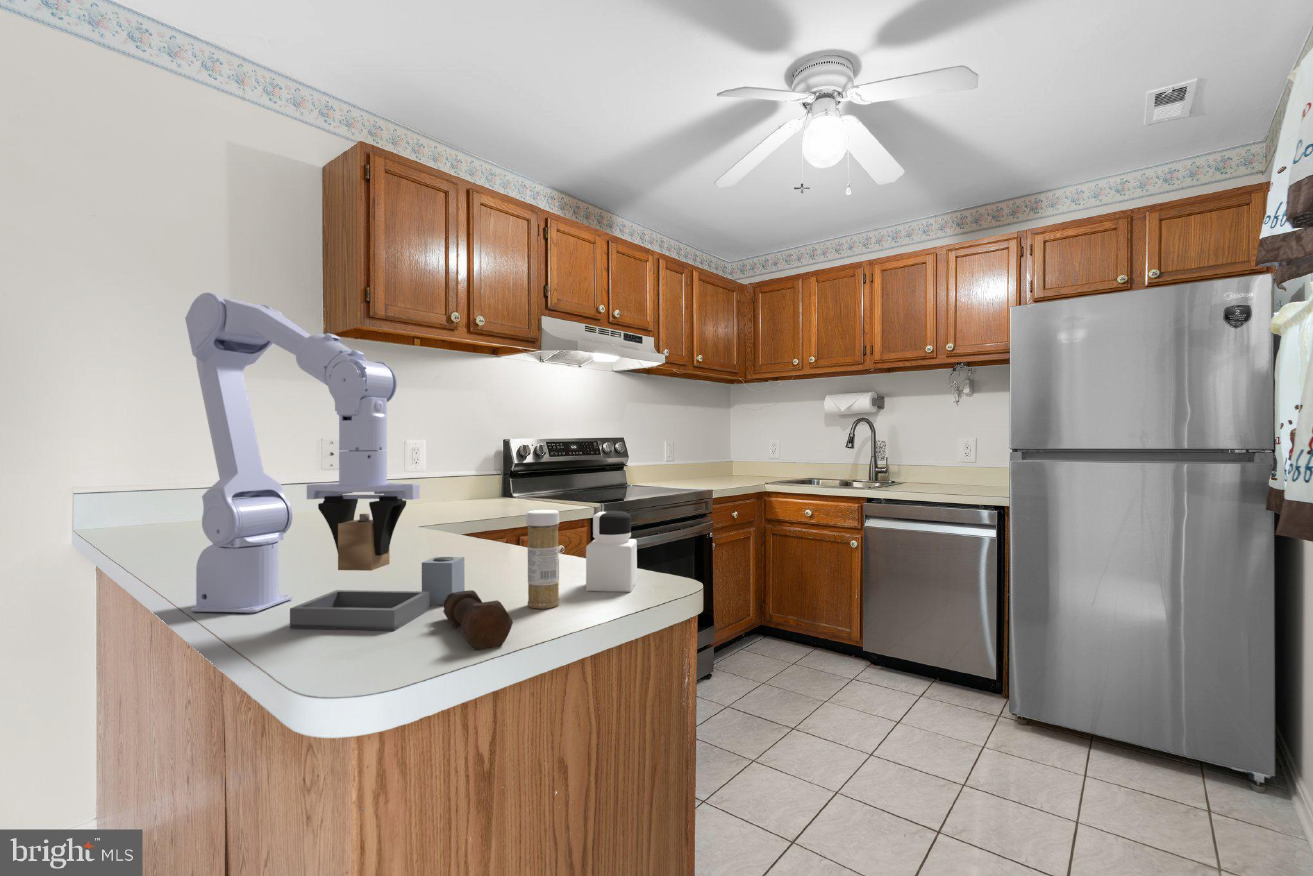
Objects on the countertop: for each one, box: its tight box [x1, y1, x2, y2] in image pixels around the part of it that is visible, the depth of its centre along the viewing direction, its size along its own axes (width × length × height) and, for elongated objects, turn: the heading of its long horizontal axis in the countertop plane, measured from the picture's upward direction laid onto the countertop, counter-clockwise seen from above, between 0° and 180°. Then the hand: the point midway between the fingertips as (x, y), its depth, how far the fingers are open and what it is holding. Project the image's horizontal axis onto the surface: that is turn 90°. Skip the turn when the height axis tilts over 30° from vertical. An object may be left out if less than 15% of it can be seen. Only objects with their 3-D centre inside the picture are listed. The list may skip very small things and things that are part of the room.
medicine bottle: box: [585, 510, 638, 593], centre depth 98 cm, size 7×7×12 cm
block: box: [337, 513, 391, 571], centre depth 81 cm, size 4×4×7 cm
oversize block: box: [421, 556, 466, 605], centre depth 90 cm, size 4×4×6 cm
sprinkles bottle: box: [526, 509, 560, 610], centre depth 87 cm, size 5×5×13 cm
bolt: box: [442, 589, 514, 651], centre depth 75 cm, size 6×5×15 cm
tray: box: [289, 589, 431, 632], centre depth 81 cm, size 14×10×2 cm
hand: (363, 554), depth 81 cm, fingers closed on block, 4 cm apart
